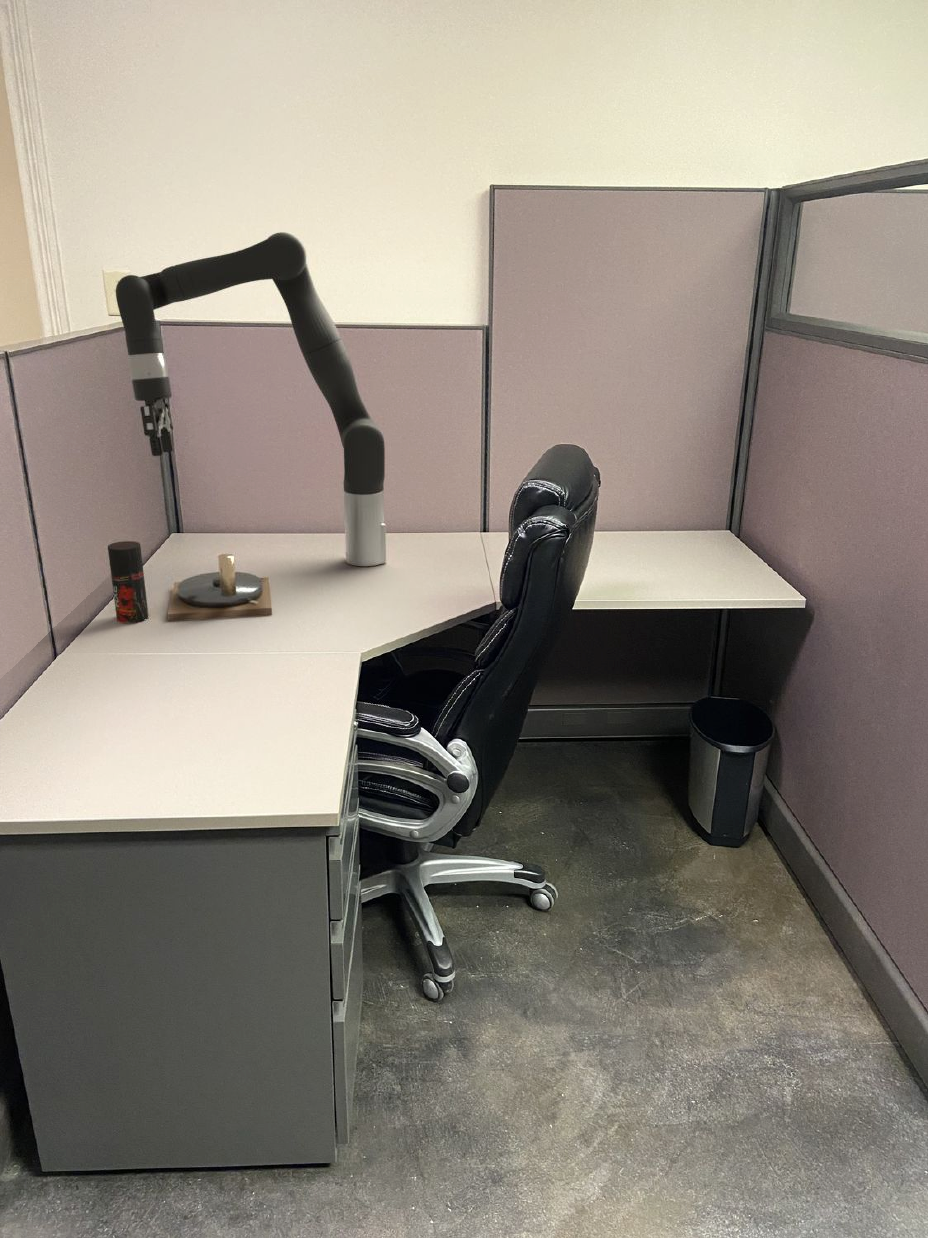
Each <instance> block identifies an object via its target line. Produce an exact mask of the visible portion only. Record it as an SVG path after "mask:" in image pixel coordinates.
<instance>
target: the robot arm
mask: <svg viewBox="0 0 928 1238" xmlns="http://www.w3.org/2000/svg"><path fill="white" fill-rule="evenodd" d="M267 280H272V281H273V284H274V285H275V286H276V288H277V290H278V292H279V294H280V296H281V298H282V300H283V303H284V304H285V307H286V309H287V312H288V315H289V319H290V321H291V326H292V329H293V332H294V335H295V338H296V340H297V344H298V346H299V349H300V352H301V354H302V356H303V359H304V361H305V363H306V365H307V367H308V370H309V372H310V374H311V376H312V377H313V380H314V382H315V384H316V386H317V387H318V389H319V390H320V392H321V393H322V395H323V397H324V399H325V400H326V402H327V404H328V406H329V407H330V410H331V413H332V415H333V418H334V422H335V424H336V428H337V430H338V433H339V438H340V442H341V446H342V448H343V465H344V466H343V471H344V472H343V473H344V474H343V502H344V503H343V504H344V505H343V506H344V507H343V509H344V510H343V511H344V537H345V540H344V542H345V543H344V544H345V562H346V563H347V564H348V565H351V566H354V567H355V566H357V567H373V566H378V565H381V564H387V539H386V538H387V534H386V532H387V531H386V530H387V529H386V523H385V509H384V508H385V505H384V504H385V503H384V501H385V500H384V485H385V484H384V483H385V475H386V473H385V470H386V469H385V467H386V466H385V465H386V464H385V463H386V462H385V459H386V454H385V452H386V451H385V449H386V448H385V439H384V436H383V433H382V432H381V430H380V428H379V427H378V426H377V425H376V424H375V421H373V419H372V416H370V414H369V412H368V409H367V408H366V406H365V404H364V402H363V400H362V397H361V395H360V392H359V389H358V386H357V382H356V377H355V373H354V369H353V366H352V363H351V360H350V357H349V354H348V352H347V349H346V347H345V343H344V342H343V339H342V338H341V334H340V333H339V331H338V328H337V327H336V324H335V322H334V320H333V319H332V317H331V315H330V313H329V312H328V310H327V309H326V307H325V305H324V303H323V301H321V299H320V297H319V294H318V292H317V290H316V288H315V284H314V281H313V279H312V276H311V273H310V269H309V267H308V263H307V251H306V249H305V246H304V244H303V243H302V241H300V238H298V237H297V236H295V235H293V234H292V233H288V232H276V233H274V234H272V235H269V236H268V237H267V239H264V240H262V241H260V242H257V243H256V244H253V245H251V246H248V247H245V248H243V249H241V250H237V251H233V252H230V253H224V254H221V255H215V256H210V257H204V258H199V259H195V260H191V261H186V262H183V263H178V264H175V265H171V266H168V267H165V268H164V269H162V270H161V271H160V272H156V273H151V274H147V275H142V276H138V275H135V274H130V275H129V274H128V275H126V276H123V277H121V279H119V280H118V282H117V283H116V286H115V298H116V303H117V304H116V305H117V308H118V312H119V315H120V319H121V323H122V325H123V328H124V332H125V333H124V334H125V342H126V348H127V354H128V365H129V372H130V379H131V384H132V389H133V395H134V396H133V397H134V400H135V401H137V402H142V401H144V406H140V408H139V409H140V413H141V421H142V427H143V434H144V435H145V437H147V438H148V439H149V445H150V451H151V455H152V456H153V457H160V456H163V455H164V453H171V452H173V451H174V446H173V439H172V432H173V431H174V426H173V421H172V415H171V410H170V404H169V403H168V402H165V403H164V400H165V399H170V398H172V389H171V384H170V376H169V370H168V365H167V361H166V358H165V354H164V349H163V343H162V337H161V332H160V330H159V327H158V326H157V323H156V316H155V310H158V309H160V308H164V307H165V306H168V305H171V304H173V303H180V302H184V301H185V302H186V301H189V300H193V299H196V298H200V297H203V296H208V295H211V294H214V293H218V292H220V291H223V290H226V289H229V288H233V287H235V286H238V285H242V284H248V283H251V282H257V281H267Z"/></svg>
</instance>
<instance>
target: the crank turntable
mask: <svg viewBox="0 0 928 1238" xmlns="http://www.w3.org/2000/svg"><path fill="white" fill-rule="evenodd" d="M217 559H218V570H219V571H214V572H207V573H202V574H201V573H200V574H197V575H193V576H190V577H188V578H186V579H183V580H182V581H180V582H181V583H180V584H179V585H178V595H179V599H180V600H181V601H182V602H184V603H186V604H189V605H194V606H200V607H226V606H233V605H239V604H243V603H247V602H250V601H252V600H254V599H256V598H258V597H259V596H261V594H262V593H263V586H262V580H261V579H260V578H261V577H259V576H257V575H255V574H252V573H247V572H241V571H236V567H235V555H234V554H231V553H223V554H219V555H218V556H217Z"/></svg>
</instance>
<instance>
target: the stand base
mask: <svg viewBox="0 0 928 1238" xmlns="http://www.w3.org/2000/svg"><path fill="white" fill-rule="evenodd" d="M259 578H260V579H261V580H262V586H263V593H262V594H261V596H259V597H258V598H256V599H254V600H252V601H250V602H247V603H243V604H239V605H233V606H226V607H200V606H194V605H189V604H186V603H184V602H182V601H181V600H180V599H179V595H178V585H179V584H180V583H181V582H182V581H174V582H173V587H172V591H171V597H170V601H169V607H168V612H167V618H168V622H178V621H180V622H181V621H194V620H211V619H227V618H241V617H243V618H244V617H256V616H259V617H260V616H269V615H270V616H272V615H273V608H272V597H271V588H270V587H271V586H270V577H269V576H268V577H264V576H263V577H259Z"/></svg>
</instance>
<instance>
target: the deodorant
mask: <svg viewBox="0 0 928 1238" xmlns="http://www.w3.org/2000/svg"><path fill="white" fill-rule="evenodd" d="M107 552H108V558H109V559H108V561H109V567H110V568H109V569H110V575H111V577H110V578H111V584H112V592H113V598H114V608H115V614H116V615H115V617H116V621H117V622H118V623H119V624H127V625H128V624H129V625H131V624H138V622H139V623H141V622H145V621H146V620H145V619H147V620H148V619H149V617H148V616H149V609H148V601H147V591H146V585H145V584H146V583H145V581H146V580H145V575H144V574H145V573H144V567H143V557H142V556H143V555H142V546H141V543H140V542H138V541H132V540H131V541H129V540H125V541H124V540H123V541H117V542H113V543H110V544H108V545H107ZM144 620H145V621H144Z"/></svg>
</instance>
